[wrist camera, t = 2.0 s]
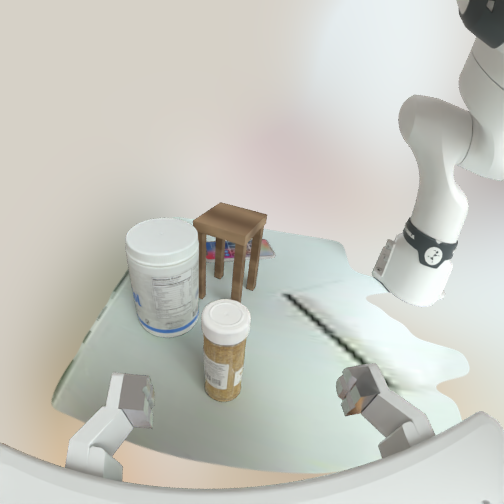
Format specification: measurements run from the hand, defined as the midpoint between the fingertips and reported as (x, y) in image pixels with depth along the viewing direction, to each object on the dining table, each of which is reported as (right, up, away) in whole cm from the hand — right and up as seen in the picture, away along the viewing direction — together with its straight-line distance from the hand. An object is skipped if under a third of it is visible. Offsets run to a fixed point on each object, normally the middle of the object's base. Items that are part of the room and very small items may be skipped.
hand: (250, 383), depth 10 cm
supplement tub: (-13, -5, +31) cm, 34 cm away
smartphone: (-3, +5, +49) cm, 50 cm away
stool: (-4, -1, +37) cm, 38 cm away
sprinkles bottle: (-4, -12, +22) cm, 25 cm away
